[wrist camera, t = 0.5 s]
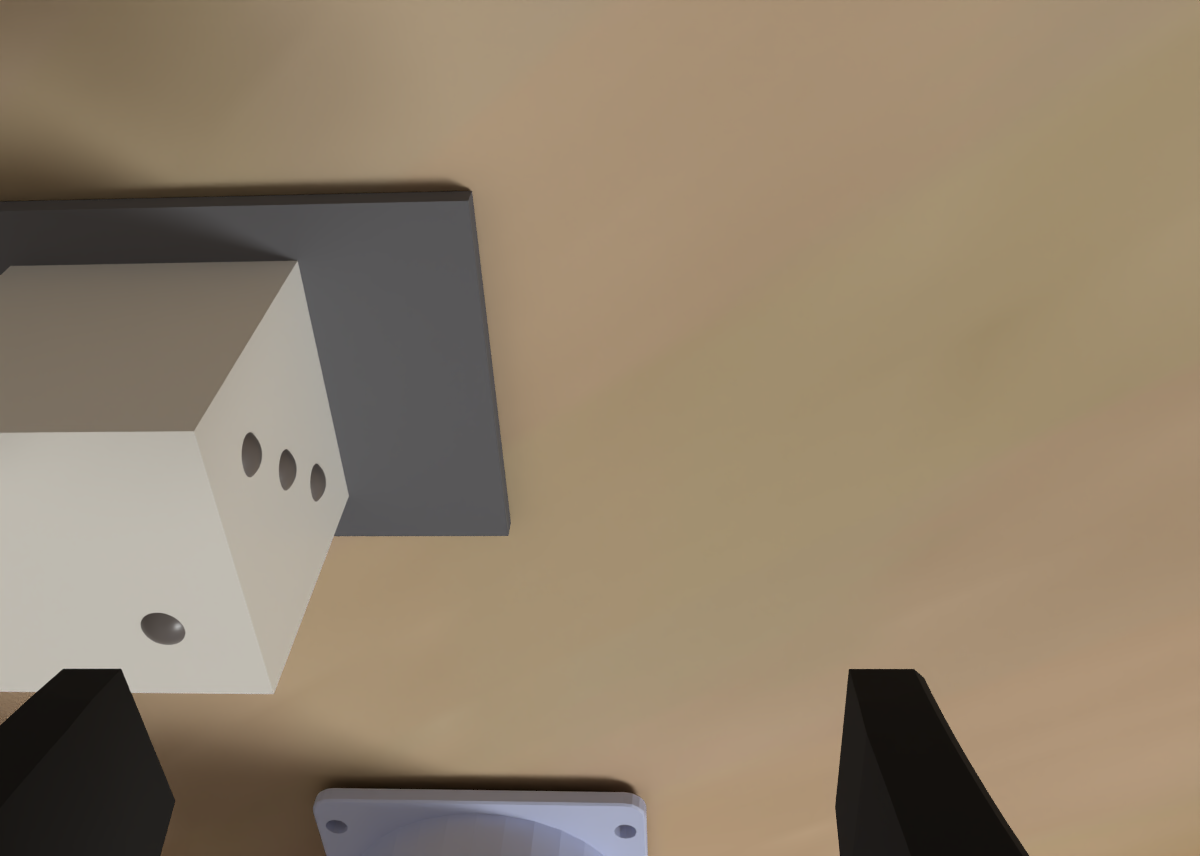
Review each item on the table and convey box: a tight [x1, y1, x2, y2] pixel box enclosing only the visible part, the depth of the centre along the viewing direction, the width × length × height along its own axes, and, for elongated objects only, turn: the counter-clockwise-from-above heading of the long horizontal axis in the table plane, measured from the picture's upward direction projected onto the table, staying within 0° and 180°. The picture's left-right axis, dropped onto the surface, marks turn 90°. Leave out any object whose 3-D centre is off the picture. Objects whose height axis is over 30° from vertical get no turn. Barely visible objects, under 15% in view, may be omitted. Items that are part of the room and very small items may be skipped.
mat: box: [0, 191, 511, 536], centre depth 21 cm, size 7×13×1 cm, turn 93°
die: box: [0, 261, 349, 694], centre depth 18 cm, size 5×5×5 cm
